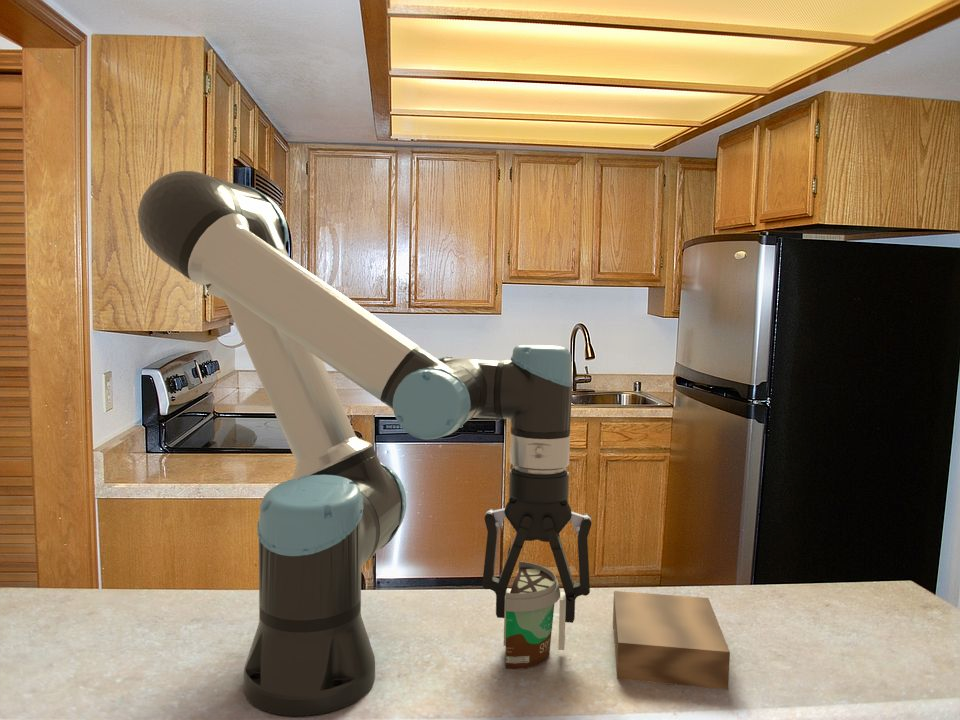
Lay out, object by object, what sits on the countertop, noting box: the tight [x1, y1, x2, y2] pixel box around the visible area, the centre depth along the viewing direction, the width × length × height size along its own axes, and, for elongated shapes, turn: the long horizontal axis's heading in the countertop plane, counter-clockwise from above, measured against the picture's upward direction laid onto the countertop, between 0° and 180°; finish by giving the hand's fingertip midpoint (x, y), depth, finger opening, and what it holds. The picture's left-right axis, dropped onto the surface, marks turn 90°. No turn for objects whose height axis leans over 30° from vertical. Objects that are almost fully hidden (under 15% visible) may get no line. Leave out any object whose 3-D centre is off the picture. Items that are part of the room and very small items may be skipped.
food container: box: [505, 560, 561, 670], centre depth 94 cm, size 12×6×10 cm, turn 169°
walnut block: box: [612, 590, 731, 690], centre depth 96 cm, size 13×16×5 cm
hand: (534, 642), depth 95 cm, fingers closed on food container, 6 cm apart
